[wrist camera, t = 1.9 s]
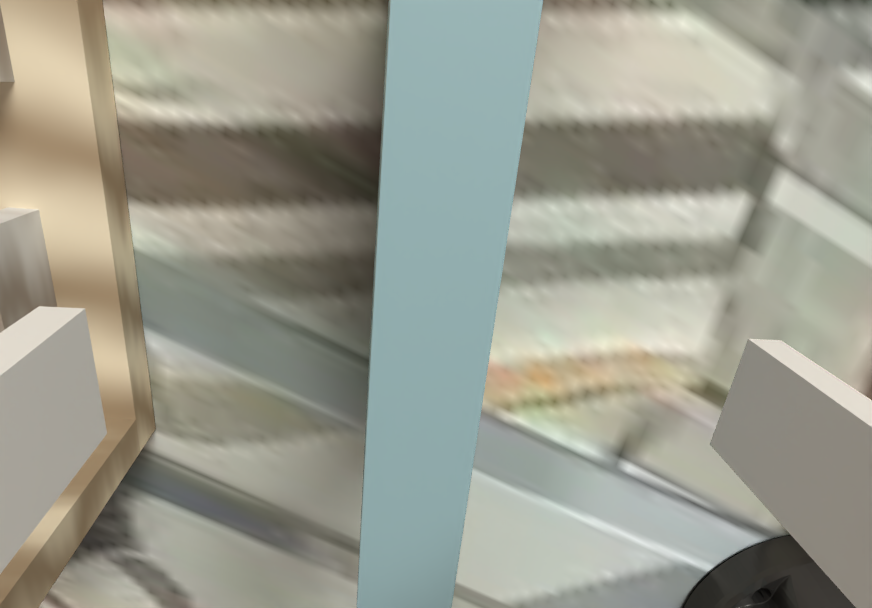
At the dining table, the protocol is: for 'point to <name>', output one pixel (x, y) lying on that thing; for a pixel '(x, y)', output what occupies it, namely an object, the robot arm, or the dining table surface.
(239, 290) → the dining table surface
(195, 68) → the dining table surface
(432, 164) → the door
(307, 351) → the dining table surface
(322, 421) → the dining table surface
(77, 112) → the hinge base
